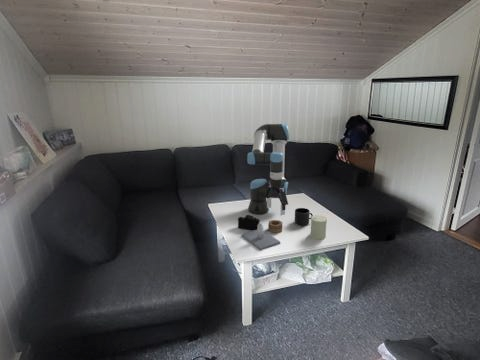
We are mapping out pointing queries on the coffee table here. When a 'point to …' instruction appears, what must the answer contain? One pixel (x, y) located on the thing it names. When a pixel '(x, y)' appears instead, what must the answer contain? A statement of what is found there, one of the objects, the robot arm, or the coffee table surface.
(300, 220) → the mug
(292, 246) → the coffee table surface
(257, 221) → the film camera
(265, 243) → the post board
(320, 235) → the can
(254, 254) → the coffee table surface
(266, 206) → the robot arm
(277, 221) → the collar
